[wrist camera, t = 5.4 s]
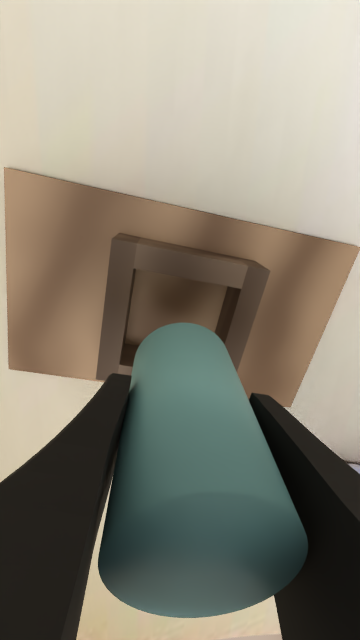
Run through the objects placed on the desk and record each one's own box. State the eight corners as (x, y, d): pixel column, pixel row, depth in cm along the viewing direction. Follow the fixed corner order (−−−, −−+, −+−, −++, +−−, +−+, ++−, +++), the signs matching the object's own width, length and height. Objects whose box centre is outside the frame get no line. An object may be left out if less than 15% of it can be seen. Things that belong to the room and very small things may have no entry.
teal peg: (240, 331, 11) (342, 502, 5) (215, 410, 13) (268, 620, 6) (141, 314, 11) (110, 481, 4) (127, 398, 12) (88, 615, 6)
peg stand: (356, 246, 17) (393, 255, 14) (288, 403, 22) (306, 433, 19) (8, 168, 15) (-29, 160, 12) (11, 365, 19) (-15, 393, 16)
